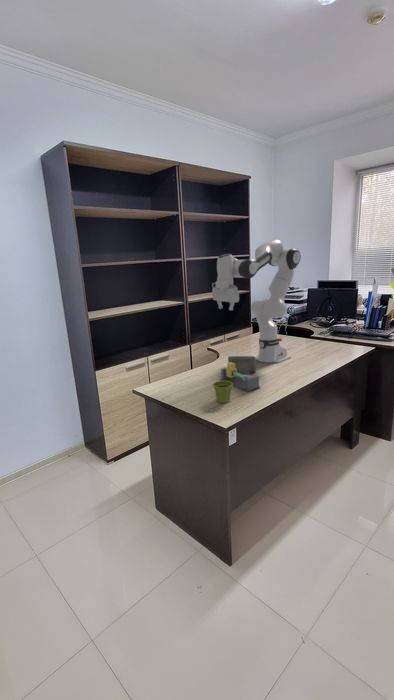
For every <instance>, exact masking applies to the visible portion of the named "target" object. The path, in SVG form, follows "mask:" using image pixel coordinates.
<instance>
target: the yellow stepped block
mask: <svg viewBox="0 0 394 700" xmlns="http://www.w3.org/2000/svg"><path fill="white" fill-rule="evenodd" d="M226 365H227V368H226V367H225V368H226V376H227V377H230V378H232V377H237V376H235V375H233V374H232V371H234V372H237V368H235V363H232V362H229V363H228V362H227V363H226Z"/></svg>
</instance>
